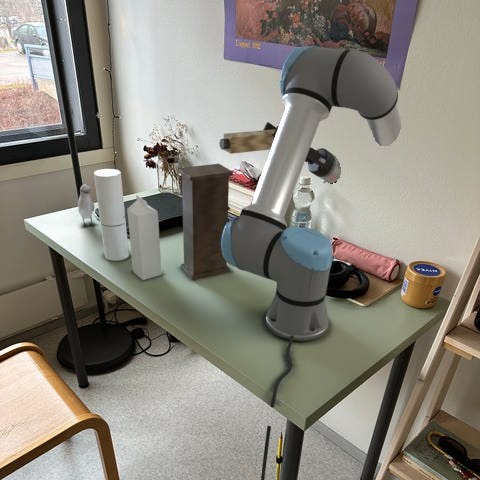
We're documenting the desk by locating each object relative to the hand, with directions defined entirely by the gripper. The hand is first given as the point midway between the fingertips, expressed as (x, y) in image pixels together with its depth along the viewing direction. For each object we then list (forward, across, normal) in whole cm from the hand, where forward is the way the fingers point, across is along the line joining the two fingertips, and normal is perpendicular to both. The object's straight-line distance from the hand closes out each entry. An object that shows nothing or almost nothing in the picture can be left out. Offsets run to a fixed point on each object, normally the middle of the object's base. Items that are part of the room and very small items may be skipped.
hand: (270, 129), depth 124 cm
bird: (+17, +45, -54) cm, 72 cm away
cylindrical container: (+15, +20, -52) cm, 58 cm away
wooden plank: (-1, 0, -5) cm, 5 cm away
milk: (+11, +5, -50) cm, 52 cm away
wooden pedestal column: (-2, 0, -42) cm, 42 cm away
